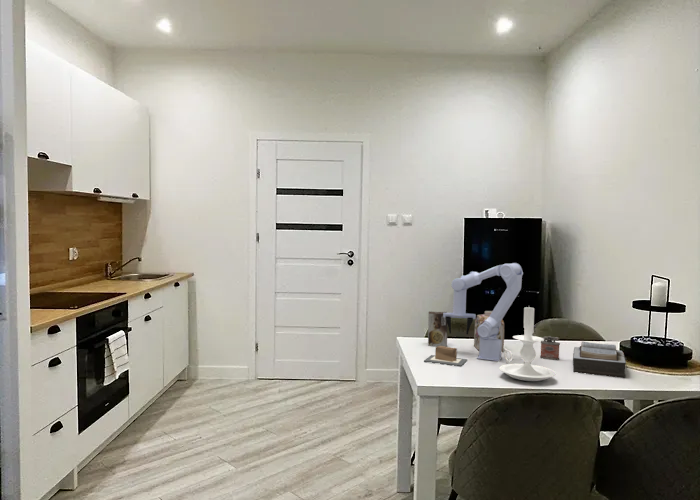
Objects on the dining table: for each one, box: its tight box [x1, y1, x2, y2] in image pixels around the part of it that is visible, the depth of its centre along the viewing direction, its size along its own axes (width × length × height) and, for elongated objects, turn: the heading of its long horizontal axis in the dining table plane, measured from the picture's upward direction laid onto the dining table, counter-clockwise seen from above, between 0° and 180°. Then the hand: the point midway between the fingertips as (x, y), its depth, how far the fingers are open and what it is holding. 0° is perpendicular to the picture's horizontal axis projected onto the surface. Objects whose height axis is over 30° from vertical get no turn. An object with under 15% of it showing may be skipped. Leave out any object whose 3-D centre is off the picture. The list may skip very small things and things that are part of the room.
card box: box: [434, 346, 458, 362], centre depth 232 cm, size 4×8×5 cm, turn 51°
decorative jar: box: [473, 310, 505, 353], centre depth 259 cm, size 12×12×18 cm
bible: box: [572, 340, 628, 379], centre depth 226 cm, size 23×27×10 cm
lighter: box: [539, 335, 561, 361], centre depth 241 cm, size 8×3×10 cm, turn 62°
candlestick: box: [499, 306, 557, 382], centre depth 209 cm, size 21×25×28 cm
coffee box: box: [427, 311, 448, 347], centre depth 265 cm, size 9×6×16 cm
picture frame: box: [423, 354, 468, 368], centre depth 232 cm, size 16×12×1 cm
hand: (458, 333), depth 249 cm, fingers open, 7 cm apart
